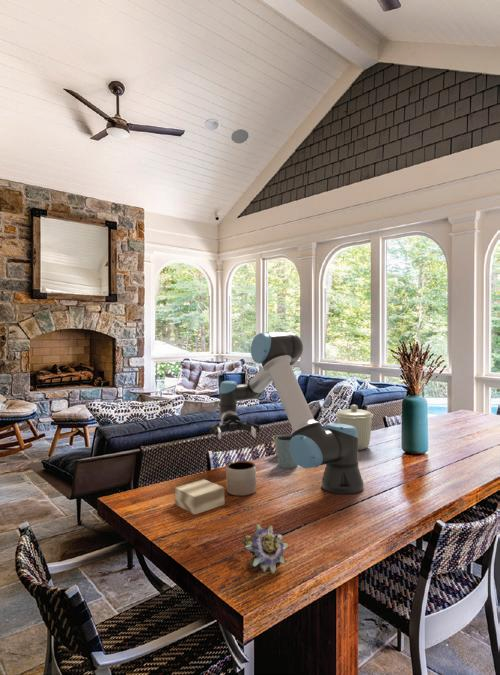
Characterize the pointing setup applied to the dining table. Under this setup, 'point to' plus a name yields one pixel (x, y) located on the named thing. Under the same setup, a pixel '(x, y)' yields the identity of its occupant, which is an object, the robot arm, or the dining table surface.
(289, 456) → the green cup
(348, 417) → the canister
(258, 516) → the dining table surface
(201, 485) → the maple block
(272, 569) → the passion flower
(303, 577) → the dining table surface
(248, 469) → the planter
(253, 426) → the robot arm
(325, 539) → the dining table surface
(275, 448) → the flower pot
